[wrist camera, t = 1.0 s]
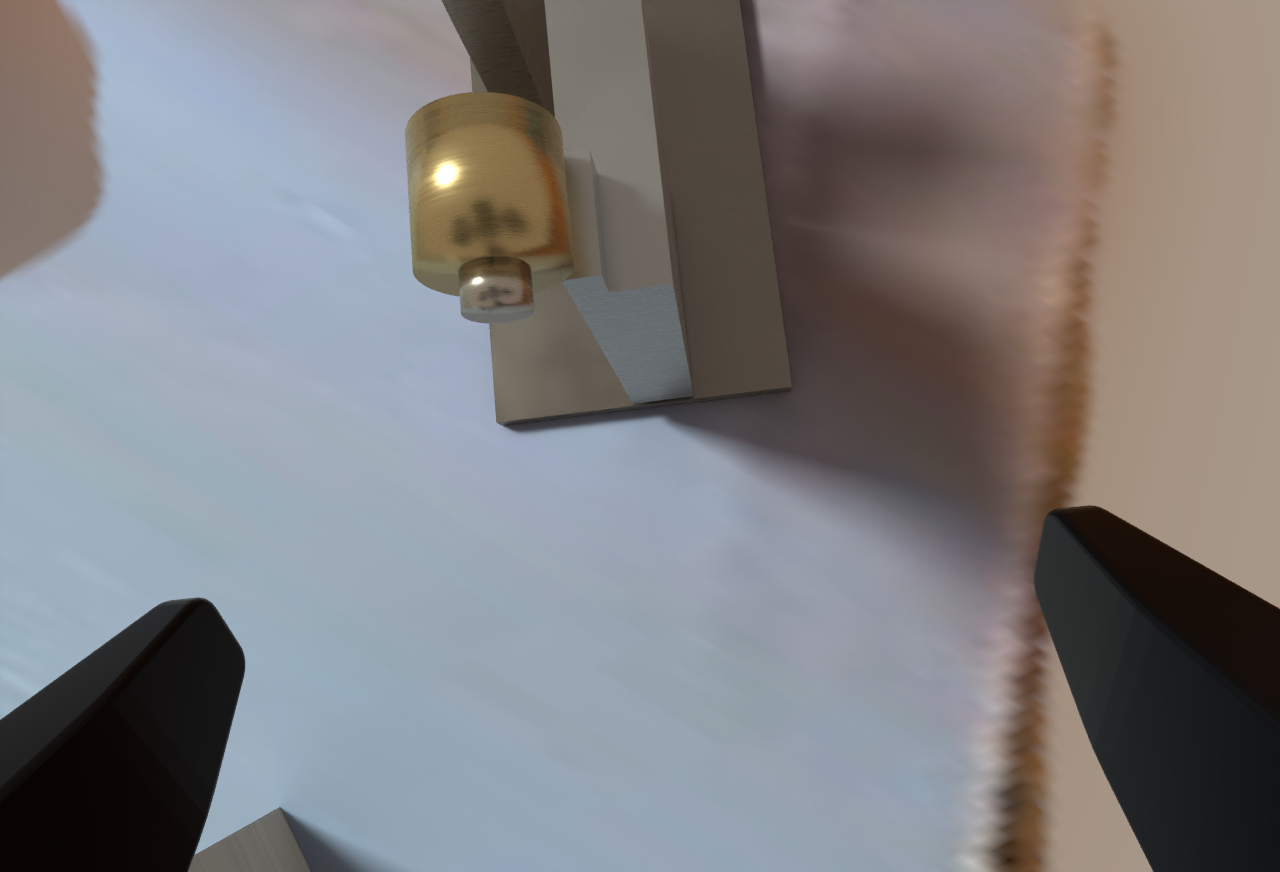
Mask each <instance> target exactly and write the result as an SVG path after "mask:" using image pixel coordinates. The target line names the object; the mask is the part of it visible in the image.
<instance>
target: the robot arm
mask: <svg viewBox="0 0 1280 872" xmlns="http://www.w3.org/2000/svg"><path fill="white" fill-rule="evenodd" d="M1034 586H1035V591H1036V596H1037V599H1038V602H1039V605H1040V607H1041V610H1042V613H1043V616H1044V618H1045V621H1046V624H1047V627H1048V629H1049V632H1050V635H1051V638H1052V640H1053V643H1054V646H1055V648H1056V651H1057V654H1058V657H1059V659H1060V662H1061V665H1062V668H1063V670H1064V673H1065V675H1066V679H1067V681H1068V684H1069V687H1070V689H1071V692H1072V695H1073V698H1074V700H1075V703H1076V706H1077V709H1078V711H1079V714H1080V717H1081V720H1082V722H1083V725H1084V727H1085V730H1086V733H1087V735H1088V738H1089V740H1090V743H1091V745H1092V748H1093V750H1094V752H1095V754H1096V756H1097V759H1098V761H1099V763H1100V765H1101V767H1102V769H1103V771H1104V774H1105V776H1106V777H1107V780H1108V782H1109V783H1110V786H1111V788H1112V790H1113V791H1114V794H1115V796H1116V798H1117V800H1118V802H1119V804H1120V806H1121V808H1122V810H1123V812H1124V814H1125V816H1126V818H1127V820H1128V822H1129V824H1130V826H1131V828H1132V830H1133V832H1134V834H1135V836H1136V838H1137V840H1138V842H1139V844H1140V846H1141V848H1142V850H1143V852H1144V854H1145V856H1146V858H1147V860H1148V862H1149V864H1150V866H1151V868H1152V870H1153V872H1280V609H1279V608H1278V607H1276V606H1274V605H1272V604H1270V603H1269V602H1267V601H1265V600H1263V599H1262V598H1260V597H1258V596H1256V595H1255V594H1253V593H1251V592H1249V591H1248V590H1246V589H1244V588H1242V587H1241V586H1239V585H1237V584H1235V583H1234V582H1232V581H1230V580H1228V579H1226V578H1225V577H1223V576H1221V575H1219V574H1218V573H1216V572H1214V571H1212V570H1211V569H1209V568H1207V567H1205V566H1204V565H1202V564H1200V563H1198V562H1197V561H1195V560H1193V559H1191V558H1190V557H1188V556H1186V555H1184V554H1182V553H1180V552H1179V551H1177V550H1175V549H1174V548H1172V547H1170V546H1168V545H1167V544H1165V543H1163V542H1161V541H1160V540H1158V539H1156V538H1154V537H1153V536H1151V535H1149V534H1147V533H1146V532H1143V531H1142V530H1140V529H1138V528H1137V527H1135V526H1133V525H1131V524H1130V523H1128V522H1126V521H1124V520H1123V519H1121V518H1119V517H1117V516H1115V515H1114V514H1112V513H1110V512H1109V511H1107V510H1105V509H1103V508H1100V507H1097V506H1080V507H1070V508H1060V509H1055V510H1053V511H1051V512H1049V513H1048V514H1047V516H1046V518H1045V520H1044V523H1043V529H1042V534H1041V539H1040V544H1039V549H1038V555H1037V560H1036V565H1035V571H1034ZM244 673H245V656H244V653H243V650H242V648H241V646H240V644H239V643H238V641H237V640H236V638H235V637H234V635H233V633H232V632H231V630H230V629H229V627H228V626H227V624H226V623H225V621H224V620H223V618H222V616H221V615H220V613H219V612H218V610H217V609H216V607H215V606H214V605H213V603H211V602H210V601H208V600H206V599H204V598H189V599H180V600H170V601H167V602H163V603H161V604H159V605H157V606H156V607H154V608H153V609H152V610H150V611H149V612H148V613H146V614H145V615H143V616H142V617H141V618H139V619H138V620H137V621H135V622H134V623H133V624H131V625H130V626H128V627H127V628H126V629H124V630H123V631H122V632H120V633H119V634H117V635H116V636H115V637H113V638H112V639H111V640H109V641H108V642H106V643H105V644H104V645H102V646H101V647H100V648H98V649H97V650H95V651H94V652H93V653H91V654H90V655H89V656H87V657H86V658H85V659H83V660H82V661H80V662H79V663H78V664H76V665H75V666H74V667H72V668H71V669H69V670H68V671H67V672H65V673H64V674H63V675H61V676H60V677H58V678H57V679H56V680H54V681H53V682H52V683H50V684H49V685H47V686H46V687H45V688H43V689H42V690H41V691H39V692H38V693H37V694H35V695H34V696H32V697H31V698H30V699H28V700H27V701H26V702H24V703H23V704H21V705H20V706H19V707H17V708H16V709H15V710H13V711H12V712H10V713H9V714H8V715H6V716H5V717H4V718H2V719H1V720H0V872H188V871H189V868H190V865H191V862H192V860H193V857H194V854H195V851H196V849H197V846H198V843H199V840H200V837H201V834H202V831H203V828H204V825H205V822H206V819H207V816H208V813H209V809H210V805H211V802H212V799H213V795H214V792H215V788H216V784H217V780H218V776H219V772H220V768H221V764H222V760H223V756H224V752H225V749H226V745H227V741H228V737H229V733H230V729H231V725H232V721H233V717H234V713H235V709H236V705H237V702H238V698H239V694H240V690H241V686H242V682H243V678H244Z"/></svg>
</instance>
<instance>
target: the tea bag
mask: <svg viewBox="0 0 1280 872" xmlns="http://www.w3.org/2000/svg"><path fill="white" fill-rule="evenodd" d="M188 872H311V871H310V869H309V867H308V864H307V862H306V860H305V858H304V856H303V854H302V852H301V850H300V848H299V846H298V844H297V842H296V840H295V838H294V836H293V833H292V831H291V829H290V827H289V825H288V823H287V821H286V819H285V817H284V815H283V813H282V811H281V809H280V807H279V808H277V809H276V810H274V811H272V812H270V813H268V814H267V815H265V816H263V817H261V818H260V819H258V820H256V821H254V822H252V823H251V824H249V825H247V826H245V827H244V828H242V829H240V830H238V831H237V832H235V833H233V834H231V835H229V836H228V837H226V838H224V839H222V840H221V841H219V842H217V843H215V844H213V845H212V846H210V847H208V848H206V849H205V850H203V851H201V852H199V853H197V854H196V855H194V857H193V860H192V862H191V865H190V868H189V871H188Z"/></svg>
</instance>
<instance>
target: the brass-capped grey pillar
mask: <svg viewBox="0 0 1280 872" xmlns="http://www.w3.org/2000/svg"><path fill="white" fill-rule="evenodd" d="M544 1H545V12H546V23H547V34H548V45H549V56H550V67H551V78H552V89H553V101H554V112H555V117H554V116H553V115H552V114H551V113H550V112H549V111H547V110H546V109H544V108H543V107H541V106H540V105H538V104H536V103H534V102H531V101H529V100H526V99H524V98H520V97H517V96H513V95H508V94H502V93H494V92H470V93H461V94H456V95H451V96H447V97H444V98H440V99H438V100H435V101H433V102H430V103H429V104H427V105H425V106H423V107H422V108H420V109H419V110H418V111H416V112H415V114H414V115H413V116H412V117H411V118H410V120H409V121H408V123H407V126H406V130H405V142H406V160H407V177H408V195H409V213H410V231H411V249H412V266H413V274H414V276H415V278H416V279H417V280H418V281H419V282H420V283H422V284H423V285H425V286H426V287H428V288H430V289H433V290H435V291H438V292H441V293H445V294H449V295H454V296H460V307H461V315H462V316H463V317H464V318H466V319H468V320H470V321H474V322H479V323H489V324H497V323H509V322H515V321H519V320H522V319H525V318H527V317H529V316H531V315H532V314H533V313H534V298H533V293H536V292H540V291H543V290H546V289H549V288H551V287H554V286H556V285H558V284H560V283H561V282H563V284H564V286H565V287H566V289H567V291H568V292H569V294H570V296H571V298H572V299H573V301H574V303H575V304H576V306H577V308H578V310H579V311H580V313H581V315H582V316H583V318H584V320H585V322H586V323H587V325H588V327H589V328H590V330H591V332H592V334H593V335H594V337H595V339H596V340H597V342H598V344H599V346H600V347H601V349H602V351H603V352H604V354H605V356H606V358H607V359H608V361H609V363H610V365H611V366H612V368H613V370H614V371H615V373H616V375H617V377H618V378H619V380H620V382H621V383H622V385H623V387H624V389H625V390H626V392H627V394H628V395H629V397H630V399H631V401H632V402H633V404H634V403H642V402H651V401H659V400H667V399H675V398H684V397H692V396H693V387H692V379H691V370H690V361H689V352H688V344H687V335H686V326H685V318H684V309H683V300H682V292H681V283H680V274H679V265H678V257H677V248H676V239H675V231H674V222H673V213H672V204H671V196H670V187H669V179H668V172H667V166H666V159H665V152H664V145H663V138H662V131H661V124H660V117H659V110H658V103H657V96H656V89H655V82H654V75H653V68H652V61H651V54H650V48H649V41H648V34H647V27H646V20H645V13H644V6H643V0H544Z"/></svg>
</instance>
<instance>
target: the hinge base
mask: <svg viewBox="0 0 1280 872" xmlns="http://www.w3.org/2000/svg"><path fill="white" fill-rule="evenodd" d="M442 2H443V4H444V6H445V8H446V10H447V12H448V14H449V16H450V18H451V20H452V22H453V24H454V26H455V28H456V30H457V32H458V34H459V36H460V38H461V40H462V42H463V44H464V46H465V48H466V50H467V52H468V54H469V56H470V63H471V77H472V90H473V92H494V93H502V94H508V95H513V96H517V97H520V98H524V99H526V100H529V101H531V102H534V103H536V104H538V105H540V106H541V107H543V108H544V109H546V110H547V111H549V112H550V113H551V114H552V115H553V116H554V117H555V112H554V101H553V89H552V78H551V67H550V56H549V45H548V34H547V23H546V12H545V1H544V0H442ZM643 6H644V13H645V20H646V27H647V34H648V41H649V48H650V54H651V61H652V68H653V75H654V82H655V89H656V96H657V103H658V110H659V117H660V124H661V131H662V138H663V145H664V152H665V159H666V166H667V172H668V179H669V187H670V196H671V204H672V213H673V222H674V231H675V239H676V248H677V257H678V265H679V274H680V283H681V292H682V300H683V309H684V318H685V326H686V335H687V344H688V352H689V361H690V370H691V379H692V387H693V396H692V397H684V398H675V399H667V400H659V401H651V402H642V403H634V404H633V402H632V401H631V399H630V397H629V395H628V394H627V392H626V390H625V389H624V387H623V385H622V383H621V382H620V380H619V378H618V377H617V375H616V373H615V371H614V370H613V368H612V366H611V365H610V363H609V361H608V359H607V358H606V356H605V354H604V352H603V351H602V349H601V347H600V346H599V344H598V342H597V340H596V339H595V337H594V335H593V334H592V332H591V330H590V328H589V327H588V325H587V323H586V322H585V320H584V318H583V316H582V315H581V313H580V311H579V310H578V308H577V306H576V304H575V303H574V301H573V299H572V298H571V296H570V294H569V292H568V291H567V289H566V287H565V286H564V284H563V282H561V283H560V284H558V285H556V286H554V287H551V288H549V289H546V290H543V291H540V292H536V293H533V298H534V313H533V314H532V315H531V316H529V317H527V318H525V319H522V320H519V321H515V322H509V323H497V324H489V326H490V340H491V353H492V367H493V381H494V395H495V409H496V422H497V423H498V424H500V425H509V424H518V423H526V422H534V421H543V420H551V419H559V418H568V417H576V416H584V415H593V414H601V413H609V412H618V411H626V410H634V409H643V408H651V407H659V406H668V405H676V404H684V403H693V402H701V401H709V400H718V399H726V398H734V397H743V396H751V395H759V394H768V393H776V392H784V391H791V389H792V381H791V374H790V367H789V359H788V352H787V345H786V337H785V330H784V323H783V315H782V308H781V301H780V293H779V286H778V279H777V271H776V264H775V257H774V249H773V242H772V235H771V227H770V220H769V213H768V205H767V198H766V191H765V183H764V176H763V168H762V161H761V154H760V146H759V139H758V132H757V124H756V117H755V110H754V102H753V95H752V88H751V80H750V73H749V66H748V58H747V51H746V44H745V36H744V29H743V22H742V14H741V7H740V0H643Z"/></svg>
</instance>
